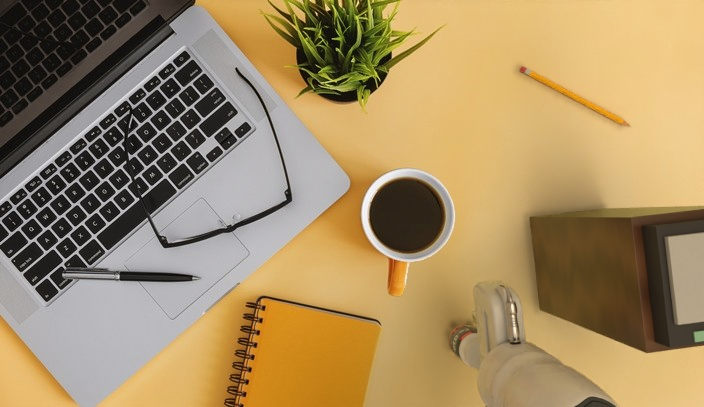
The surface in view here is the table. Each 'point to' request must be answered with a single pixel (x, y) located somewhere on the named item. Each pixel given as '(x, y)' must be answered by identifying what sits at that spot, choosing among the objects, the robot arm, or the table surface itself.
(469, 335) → the pill bottle
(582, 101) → the pencil
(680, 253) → the scale
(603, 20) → the table surface
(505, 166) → the table surface
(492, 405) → the robot arm
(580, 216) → the riser
